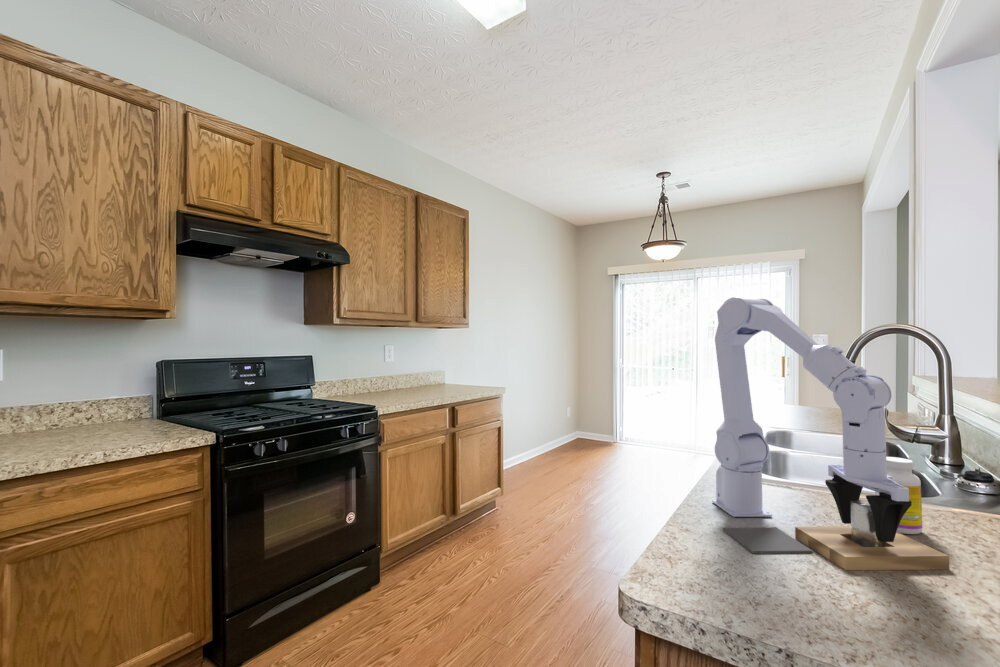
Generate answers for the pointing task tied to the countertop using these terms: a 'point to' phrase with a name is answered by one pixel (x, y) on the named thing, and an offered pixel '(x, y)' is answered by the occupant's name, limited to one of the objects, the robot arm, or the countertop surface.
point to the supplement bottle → (904, 477)
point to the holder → (870, 551)
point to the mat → (766, 540)
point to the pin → (863, 524)
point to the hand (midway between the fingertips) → (866, 531)
